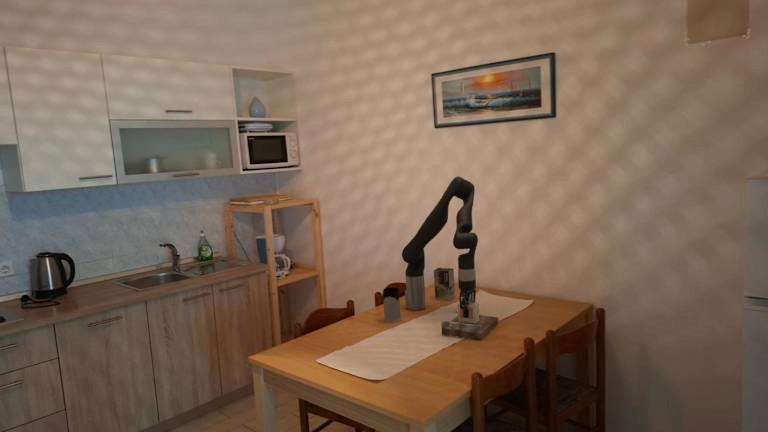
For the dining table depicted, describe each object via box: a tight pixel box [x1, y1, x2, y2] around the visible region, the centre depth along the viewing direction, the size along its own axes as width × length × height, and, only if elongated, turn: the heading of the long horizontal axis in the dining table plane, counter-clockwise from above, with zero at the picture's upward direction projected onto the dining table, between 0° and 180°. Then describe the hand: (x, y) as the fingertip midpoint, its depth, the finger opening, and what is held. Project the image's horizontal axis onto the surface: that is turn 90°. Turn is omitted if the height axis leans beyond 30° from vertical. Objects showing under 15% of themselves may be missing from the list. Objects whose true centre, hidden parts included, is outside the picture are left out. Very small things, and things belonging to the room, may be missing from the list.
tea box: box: [457, 301, 480, 324], centre depth 230 cm, size 5×8×8 cm, turn 59°
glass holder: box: [382, 287, 403, 324], centre depth 253 cm, size 9×14×15 cm, turn 166°
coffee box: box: [433, 267, 456, 301], centre depth 280 cm, size 9×6×16 cm
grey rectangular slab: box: [441, 314, 499, 341], centre depth 232 cm, size 18×22×6 cm
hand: (468, 315), depth 230 cm, fingers closed on tea box, 5 cm apart
